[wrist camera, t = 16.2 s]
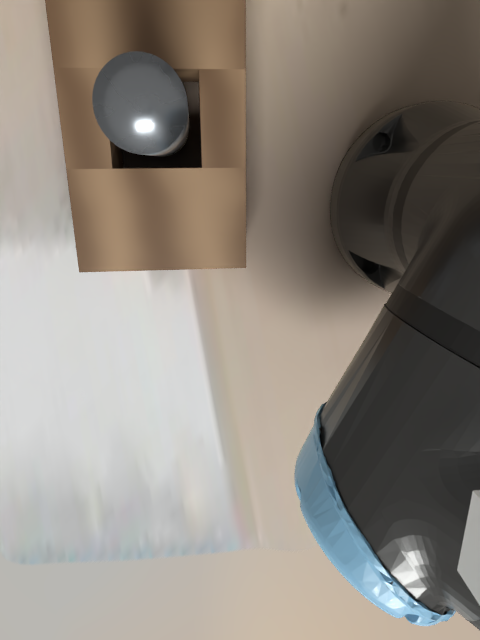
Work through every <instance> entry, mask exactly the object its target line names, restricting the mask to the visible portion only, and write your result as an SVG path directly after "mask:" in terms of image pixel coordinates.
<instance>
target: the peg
mask: <svg viewBox="0 0 480 640" xmlns="http://www.w3.org/2000/svg"><path fill="white" fill-rule="evenodd" d="M92 104H93V110H94V114H95V118H96V120H97V123H98V125H99V126H100V128H101V130H102V131H103V133H104V134H105V135H106V137H107V138H108V139H109V140H110V141H111V142H113V143H114V144H115V145H116V146H118V147H119V148H121V149H123V150H125V151H128V152H131V153H135V154H141V155H150V156H161V157H164V156H170V155H173V154H175V153H176V152H178V151H179V150H180V149H181V148H182V147H183V146H184V145H185V143H186V141H187V139H188V136H189V131H190V123H189V113H188V103H187V96H186V91H185V89H184V86H183V83H182V81H181V79H180V78H179V76H178V75H177V73H176V72H175V71H174V69H173V68H172V67H171V66H170V65H169V64H168V63H166V62H165V61H164V60H162V59H161V58H159V57H157V56H155V55H152V54H150V53H146V52H139V51H134V52H127V53H123V54H120V55H118V56H116V57H114V58H112V59H111V60H110V61H109V62H107V63H106V64H105V66H104V67H103V68H102V69H101V71H100V72H99V74H98V76H97V78H96V81H95V83H94V88H93V94H92Z"/></svg>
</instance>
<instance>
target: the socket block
mask: <svg viewBox="0 0 480 640" xmlns="http://www.w3.org/2000/svg"><path fill="white" fill-rule="evenodd" d="M45 3H46V11H47V19H48V27H49V35H50V43H51V51H52V59H53V67H54V75H55V83H56V91H57V99H58V106H59V114H60V122H61V130H62V138H63V146H64V154H65V162H66V170H67V178H68V186H69V194H70V202H71V210H72V218H73V226H74V234H75V242H76V250H77V258H78V266H79V272H106V271H143V270H180V269H217V268H246V0H45ZM134 51H139V52H146V53H150V54H152V55H155V56H157V57H159V58H161V59H162V60H164V61H165V62H166V63H168V64H169V65H170V66H171V67H172V68H173V69H174V71H175V72H176V73H177V75H178V76H179V78H180V79H181V81H182V82H199V112H200V143H201V167H149V168H123V156H122V149H121V148H119V147H118V146H116V145H115V144H114V143H113V142H111V141H110V140H109V139H108V138H107V137H106V135H105V134H104V133H103V131H102V130H101V128H100V126H99V125H98V123H97V120H96V118H95V114H94V110H93V104H92V94H93V88H94V83H95V81H96V78H97V76H98V74H99V72H100V71H101V69H102V68H103V67H104V66H105V64H106V63H107V62H109V61H110V60H111V59H112V58H114V57H116V56H118V55H120V54H123V53H127V52H134Z"/></svg>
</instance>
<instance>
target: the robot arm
mask: <svg viewBox="0 0 480 640" xmlns="http://www.w3.org/2000/svg"><path fill="white" fill-rule="evenodd" d="M330 219H331V226H332V231H333V235H334V238H335V241H336V244H337V246H338V248H339V250H340V252H341V254H342V256H343V257H344V259H345V260H346V261H347V263H348V264H349V265H350V266H351V267H352V268H353V269H354V270H355V271H356V272H357V273H358V274H359V275H360V276H362V277H363V278H365V279H366V280H367V281H369V282H370V283H372V284H374V285H375V286H377V287H379V288H381V289H383V290H385V291H388V292H391V293H392V294H391V296H390V298H389V299H388V301H387V303H386V304H385V305H384V307H383V308H382V310H381V312H380V314H379V315H378V317H377V319H376V321H375V322H374V324H373V326H372V328H371V329H370V331H369V333H368V335H367V336H366V338H365V340H364V341H363V343H362V345H361V346H360V348H359V350H358V351H357V353H356V355H355V356H354V358H353V360H352V361H351V363H350V365H349V366H348V368H347V370H346V371H345V373H344V375H343V376H342V378H341V380H340V381H339V383H338V385H337V386H336V388H335V390H334V391H333V393H332V395H331V396H330V398H329V400H328V401H327V402H326V403H325V404H322V405H321V407H320V408H319V409H318V411H317V413H316V416H315V420H314V426H313V428H312V430H311V432H310V434H309V435H308V437H307V439H306V441H305V443H304V445H303V447H302V449H301V451H300V453H299V455H298V458H297V461H296V466H295V486H296V491H297V495H298V497H299V499H300V507H301V511H302V513H303V516H304V518H305V520H306V522H307V524H308V527H309V529H310V530H311V532H312V534H313V536H314V538H315V539H316V541H317V543H318V544H319V546H320V547H321V548H322V550H323V552H324V553H325V554H326V556H327V557H328V558H329V560H330V561H331V562H332V563H333V565H334V566H335V567H336V568H337V570H338V571H339V572H340V573H341V574H342V575H343V576H344V578H345V579H346V580H347V581H349V583H350V584H351V585H352V586H353V587H354V588H355V589H356V590H357V591H359V592H360V593H361V594H362V595H363V596H364V597H366V598H367V599H368V600H369V601H370V602H372V603H373V604H374V605H376V606H377V607H379V608H380V609H382V610H383V611H385V612H386V613H388V614H390V615H392V616H394V617H396V618H401V617H403V616H405V617H406V618H407V620H408V621H409V622H410V623H412V624H416V625H420V626H430V625H435V624H437V623H439V622H440V621H448V619H449V618H450V617H452V616H453V615H454V614H455V612H456V611H457V612H458V613H459V614H461V615H462V616H463V617H464V618H465V619H466V620H468V621H469V622H470V623H472V624H473V625H474V626H475V627H477V628H478V629H479V630H480V109H478V108H476V107H473V106H471V105H468V104H464V103H459V102H452V101H433V102H426V103H421V104H417V105H413V106H409V107H405V108H402V109H400V110H397V111H395V112H392V113H390V114H388V115H387V116H385V117H383V118H381V119H380V120H378V121H377V122H376V123H374V124H373V125H372V126H370V127H369V128H368V129H367V130H366V131H365V132H364V133H363V134H362V135H361V136H360V137H359V138H358V139H357V140H356V141H355V143H354V144H353V145H352V147H351V148H350V149H349V151H348V152H347V154H346V156H345V157H344V159H343V161H342V163H341V165H340V167H339V169H338V172H337V175H336V178H335V181H334V184H333V189H332V194H331V202H330Z"/></svg>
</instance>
